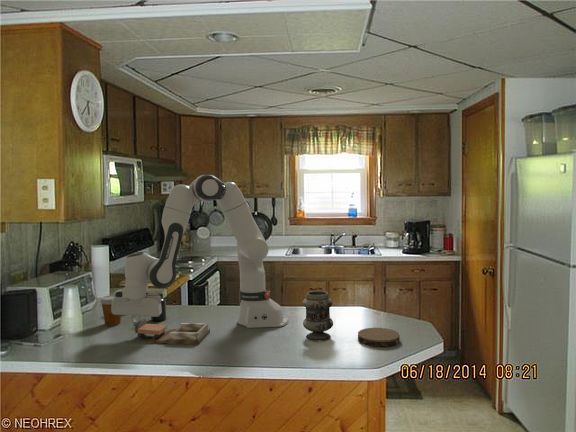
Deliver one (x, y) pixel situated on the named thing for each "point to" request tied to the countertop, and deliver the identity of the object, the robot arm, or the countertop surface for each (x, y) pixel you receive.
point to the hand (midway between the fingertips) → (136, 325)
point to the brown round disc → (378, 337)
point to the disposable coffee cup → (109, 311)
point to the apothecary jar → (317, 315)
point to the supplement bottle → (163, 306)
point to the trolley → (149, 329)
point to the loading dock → (184, 334)
